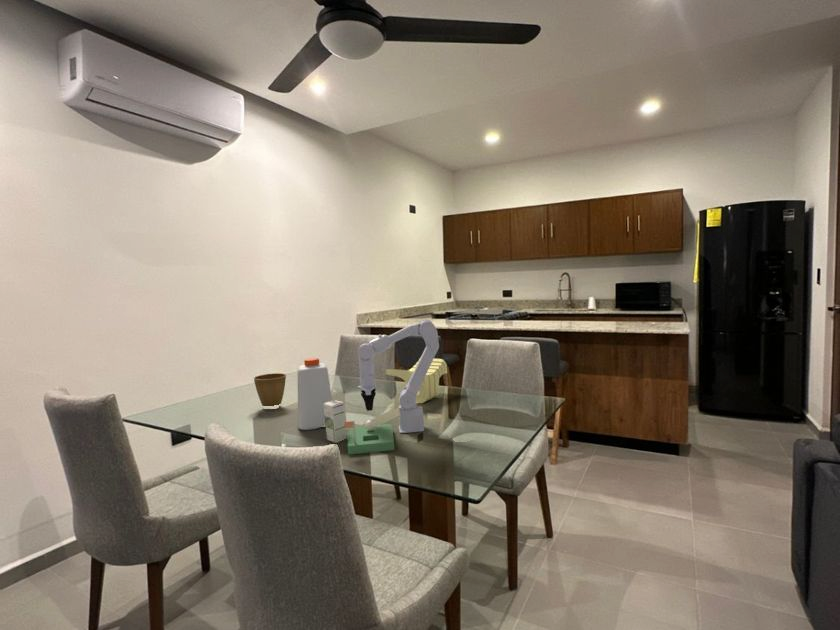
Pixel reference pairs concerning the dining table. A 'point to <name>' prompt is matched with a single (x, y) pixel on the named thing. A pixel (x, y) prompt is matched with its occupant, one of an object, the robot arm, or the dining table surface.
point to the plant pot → (270, 388)
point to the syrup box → (335, 421)
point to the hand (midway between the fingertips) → (369, 408)
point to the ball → (370, 425)
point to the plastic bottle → (312, 394)
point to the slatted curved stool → (429, 382)
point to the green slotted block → (369, 438)
